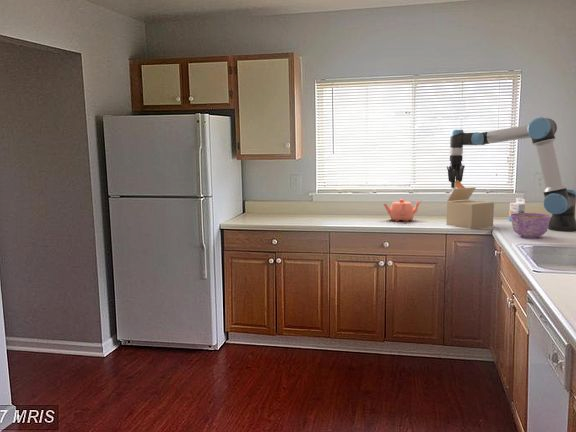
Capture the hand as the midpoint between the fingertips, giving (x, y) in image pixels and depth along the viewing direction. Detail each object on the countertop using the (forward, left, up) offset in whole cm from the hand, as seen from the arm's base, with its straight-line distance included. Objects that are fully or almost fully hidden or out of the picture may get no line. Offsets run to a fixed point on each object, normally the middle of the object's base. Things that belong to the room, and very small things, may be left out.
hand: (454, 192), depth 338 cm
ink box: (-17, -37, -19) cm, 45 cm away
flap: (-6, 0, -1) cm, 6 cm away
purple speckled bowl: (-57, +3, -19) cm, 61 cm away
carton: (-13, 0, -19) cm, 23 cm away
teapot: (+24, +21, -19) cm, 37 cm away
